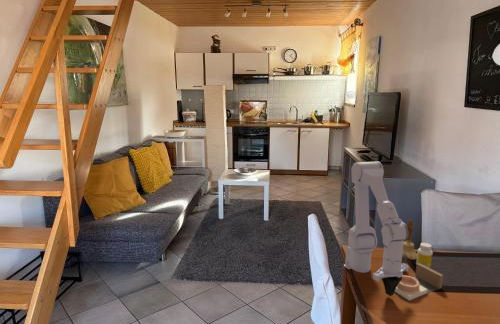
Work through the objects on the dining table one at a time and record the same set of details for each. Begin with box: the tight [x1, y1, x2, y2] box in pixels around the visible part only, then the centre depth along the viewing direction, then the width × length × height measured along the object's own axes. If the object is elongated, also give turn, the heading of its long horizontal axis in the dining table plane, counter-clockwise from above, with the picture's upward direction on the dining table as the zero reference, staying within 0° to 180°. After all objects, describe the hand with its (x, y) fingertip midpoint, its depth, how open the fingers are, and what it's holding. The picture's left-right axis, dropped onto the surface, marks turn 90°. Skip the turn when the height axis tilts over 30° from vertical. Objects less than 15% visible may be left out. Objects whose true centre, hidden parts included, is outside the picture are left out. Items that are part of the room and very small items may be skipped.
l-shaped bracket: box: [394, 263, 444, 302], centre depth 120 cm, size 10×17×6 cm, turn 117°
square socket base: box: [394, 274, 428, 301], centre depth 119 cm, size 9×9×4 cm
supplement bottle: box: [415, 242, 434, 269], centre depth 135 cm, size 5×5×10 cm
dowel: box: [401, 253, 408, 273], centre depth 132 cm, size 4×4×7 cm
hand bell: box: [402, 219, 417, 260], centre depth 144 cm, size 8×8×16 cm
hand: (389, 294), depth 115 cm, fingers closed
